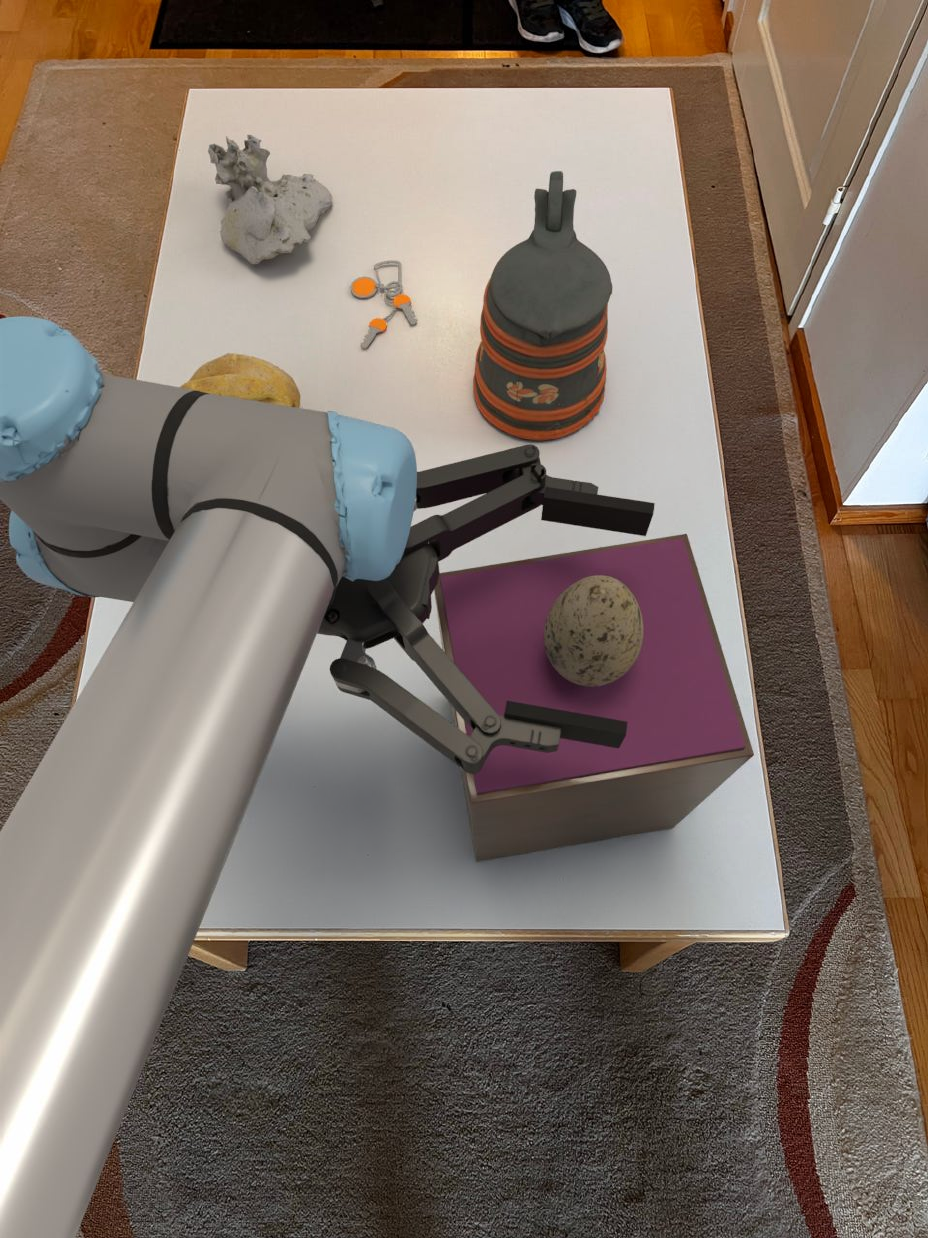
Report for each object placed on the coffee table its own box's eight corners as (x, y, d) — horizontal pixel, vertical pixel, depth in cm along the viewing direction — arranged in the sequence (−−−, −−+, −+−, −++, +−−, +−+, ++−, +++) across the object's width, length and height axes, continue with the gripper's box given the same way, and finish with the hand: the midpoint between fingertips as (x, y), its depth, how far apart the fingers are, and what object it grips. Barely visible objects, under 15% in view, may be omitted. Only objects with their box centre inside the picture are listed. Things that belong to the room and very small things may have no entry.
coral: (240, 197, 114) (211, 120, 106) (340, 188, 112) (317, 108, 103) (209, 280, 105) (173, 203, 97) (316, 271, 103) (289, 191, 94)
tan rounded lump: (184, 468, 95) (151, 412, 86) (200, 392, 99) (170, 330, 90) (300, 471, 94) (280, 415, 85) (311, 394, 98) (293, 332, 89)
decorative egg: (586, 719, 55) (605, 665, 46) (521, 654, 57) (527, 589, 48) (651, 660, 56) (682, 596, 47) (586, 598, 58) (604, 525, 49)
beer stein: (474, 308, 103) (470, 158, 84) (599, 306, 102) (623, 155, 84) (472, 442, 95) (468, 310, 77) (607, 442, 95) (635, 309, 76)
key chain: (348, 268, 105) (347, 262, 105) (408, 260, 106) (407, 255, 105) (357, 351, 100) (356, 345, 99) (420, 342, 100) (420, 337, 100)
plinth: (476, 862, 77) (470, 803, 54) (448, 693, 84) (431, 573, 60) (673, 828, 78) (754, 755, 54) (631, 663, 84) (687, 533, 61)
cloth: (476, 794, 54) (476, 793, 53) (440, 579, 60) (439, 576, 59) (744, 748, 54) (746, 747, 54) (681, 540, 60) (683, 537, 60)
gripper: (342, 429, 60) (649, 475, 58) (237, 781, 51) (601, 851, 48) (323, 356, 53) (671, 405, 51) (197, 748, 44) (620, 827, 42)
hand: (638, 622), depth 50 cm, fingers open, 13 cm apart
